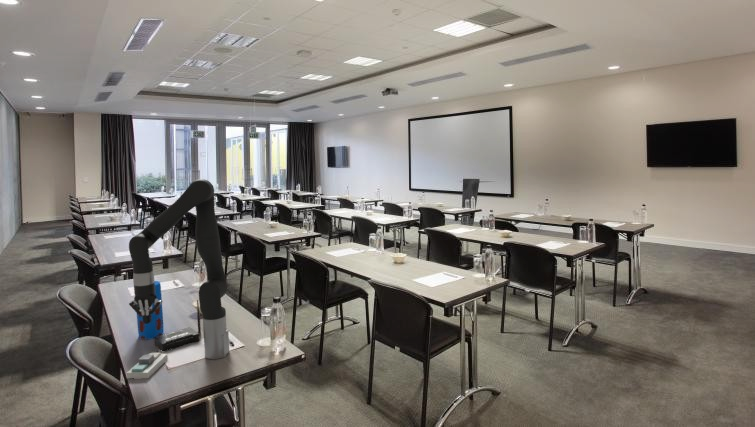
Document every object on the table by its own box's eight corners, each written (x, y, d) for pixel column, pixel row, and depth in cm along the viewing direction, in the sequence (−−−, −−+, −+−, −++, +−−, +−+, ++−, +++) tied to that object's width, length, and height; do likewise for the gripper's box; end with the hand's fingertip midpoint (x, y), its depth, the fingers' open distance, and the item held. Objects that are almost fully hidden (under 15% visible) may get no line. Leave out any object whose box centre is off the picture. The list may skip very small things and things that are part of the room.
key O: (148, 371, 170) (147, 364, 170) (142, 376, 166) (142, 368, 166) (137, 371, 170) (137, 364, 169) (132, 376, 166) (131, 369, 166)
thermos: (150, 340, 200) (147, 288, 196) (133, 337, 203) (129, 286, 200) (169, 331, 210) (165, 281, 207) (151, 329, 213) (148, 280, 210)
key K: (160, 359, 180) (160, 352, 179) (155, 364, 176) (155, 357, 175) (150, 359, 180) (150, 352, 179) (145, 364, 176) (145, 357, 175)
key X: (154, 361, 175) (153, 354, 174) (149, 366, 171) (148, 359, 170) (144, 361, 175) (143, 354, 174) (139, 366, 171) (138, 359, 170)
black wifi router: (164, 353, 187) (161, 315, 184) (153, 344, 196) (150, 308, 194) (209, 339, 201) (207, 304, 199) (197, 331, 210) (195, 297, 208)
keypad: (167, 359, 181) (167, 353, 181) (148, 378, 165) (147, 372, 165) (148, 359, 181) (148, 353, 180) (127, 378, 165) (126, 372, 165)
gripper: (164, 279, 179) (167, 319, 182) (132, 280, 179) (136, 320, 181) (156, 284, 172) (159, 326, 174) (122, 285, 171) (126, 327, 174)
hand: (147, 323), depth 178 cm, fingers closed
